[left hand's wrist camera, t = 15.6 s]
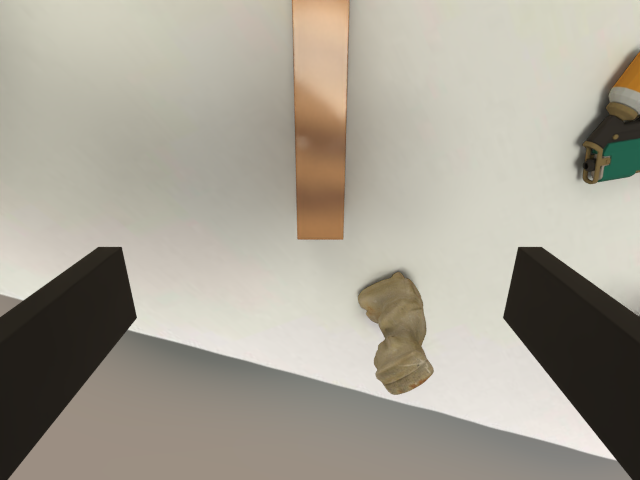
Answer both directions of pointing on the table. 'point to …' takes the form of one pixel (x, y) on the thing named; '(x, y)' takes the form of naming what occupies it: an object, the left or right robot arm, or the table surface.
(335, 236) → the beam
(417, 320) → the sculpture
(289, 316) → the table surface
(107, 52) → the table surface
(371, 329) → the table surface
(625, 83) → the spray gun
